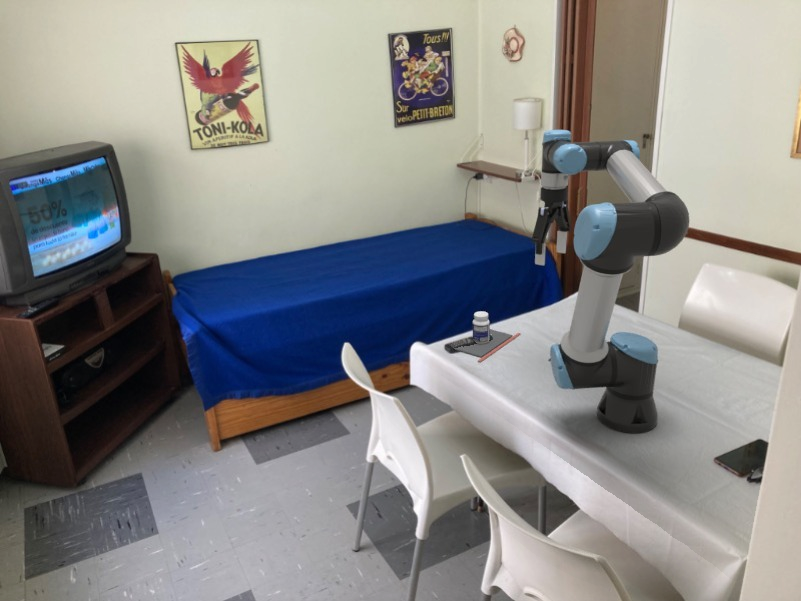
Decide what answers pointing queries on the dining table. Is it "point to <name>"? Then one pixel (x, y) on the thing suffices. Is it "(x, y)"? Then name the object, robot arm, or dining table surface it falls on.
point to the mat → (485, 348)
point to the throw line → (499, 347)
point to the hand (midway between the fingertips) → (550, 258)
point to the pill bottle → (481, 328)
